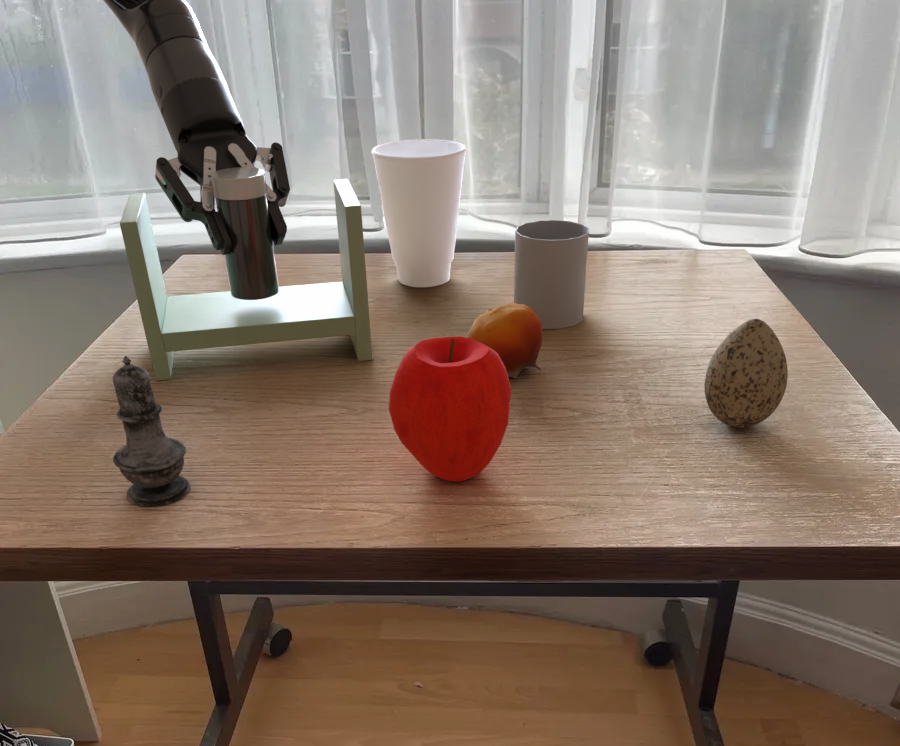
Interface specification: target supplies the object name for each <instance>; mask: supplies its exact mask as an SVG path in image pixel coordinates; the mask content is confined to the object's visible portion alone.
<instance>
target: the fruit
mask: <svg viewBox="0 0 900 746" xmlns="http://www.w3.org/2000/svg"><path fill="white" fill-rule="evenodd" d="M466 338H471V339H474V340H476V341H478V342H480V343H482V344H484V345H486V346H488V347H489V348H491V349H493V350H494V351H495V352H497V353H498V355H499V356H500V358H501V360H502V362H503V364H504V365H505V367H506V370H507V374H508V378H513V379H515V380H517V378H518V375H519V374H520V373H521V372H522V371H523V370H524V369H527V368H536V369H538V370H539V371H542V368H540V367H539V366H538V365H537V361H538V358H539V355H540V351H541V348H542V344H543V329H542V324H541V321H540V319H539V317H538V316H537V315H536V313H535V312H534V311H533V310H532V309H531V308H530V307H528V306H526V305H524V304H516V303H514V302H510V303H506V304H502V305H499V306H498V307H495V308H489V309H488V310H487V311H486V312H482V313H481V314H479V315H478V316H477V317H476V318H475V320H474V322H473V323H472V325H471V327H470V330H469V331H468V333H467V337H466Z"/></svg>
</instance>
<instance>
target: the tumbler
mask: <svg viewBox="0 0 900 746" xmlns="http://www.w3.org/2000/svg"><path fill="white" fill-rule="evenodd" d="M211 182H212V188H213V194H214V197H215V207H216V212H217V211H219V213H220V215H221V218H222V220H223V222H224V225H225V227H226V230H227V232H228V235H229V237H230V240H231V243H232V247H231V251H230V254H226V255H224V260H225V266H226V273H227V279H228V285H229V291H231V295H232V296H233V297H234V298H237V299H241V300H259V299H265V298H269V297H272V296H274V295H276V294H277V293H278V292H279V287H280V285H279V284H280V283H279V278H278V272H277V271H278V270H277V262H276V254H275V247H274V246H275V245H274V243H273V239H272V231H271V223H270V216H269V208H268V201H267V185H268V184H267V179H266V171H265V169H262V168H258V167H256V168H251V167H237V168H227V169H222V170H218V171H215V172H213V173H212V174H211ZM266 184H267V185H266Z"/></svg>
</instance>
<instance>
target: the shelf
mask: <svg viewBox="0 0 900 746" xmlns="http://www.w3.org/2000/svg"><path fill="white" fill-rule="evenodd" d="M332 182H333V191H334V192H333V193H334V202H335V203H334V204H335V213H336V214H335V215H336V224H337V225H336V226H337V236H338V246H339V247H338V248H339V259H340V267H341V268H340V269H341V279H342V280H341V281H333V282H320V283H319V282H318V283H310V284H296V285H284V286H279V292H278V293H277V294H276V295H274V296H272V297H269V298H265V299H259V300H241V299H237V298H234V297H233V296H232V295H231V291H230V290H226V291H216V292H215V291H214V292H201V293H191V294H190V293H189V294H178V295H167V291H166V286H165V285H166V284H165V281H164V276H163V271H162V266H161V262H160V257H159V253H158V248H157V243H156V238H155V233H154V229H153V225H152V219H151V214H150V209H149V204H148V200H147V196H146V192H135V193H134V192H132V193H129V195H128V198H127V200H126V204H125V206H124V209H123V212H122V215H121V218H120V222H119V227H120V232H121V235H122V240H123V244H124V248H125V253H126V257H127V262H128V266H129V270H130V274H131V278H132V283H133V288H134V291H135V296H136V300H137V304H138V309H139V313H140V317H141V322H142V326H143V327H142V328H143V331H144V334H145V339H146V344H147V347H148V353H149V357H150V360H151V365H152V370H153V374H154V378H155V381H156V382H158V381H167V380H168V381H169V380H172V377H173V376H172V375H173V366H174V358H175V352H182V351H191V350H203V349H214V348H225V347H235V346H247V345H256V344H267V343H278V342H288V341H300V340H311V339H320V338H333V337H342V336H343V337H344V336H350V339H351V342H352V345H353V348H354V349H353V350H354V352H355V354H356V359H357V361H358V362H363V361H365V362H366V361H373V360H374V358H373V346H372V332H371V317H370V305H369V294H368V291H369V290H368V279H367V278H368V277H367V267H366V254H365V253H366V252H365V240H364V239H365V238H364V227H363V214H362V213H363V212H362V205H361V203H360V201H359V199H358V197H357V195H356V192H355V191H354V189H353V186H352V185H351V183H350V181H349V179H348V178H340V179H333V181H332Z"/></svg>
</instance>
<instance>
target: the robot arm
mask: <svg viewBox="0 0 900 746" xmlns="http://www.w3.org/2000/svg"><path fill="white" fill-rule="evenodd" d="M102 1H103V2H104V4H105V5H106V6H107V7H108V8H109V10H111V12H112V13H113V14H114V15H115V17H116V18H117V20H118V21H119V23H120V24H121V25H122V27H123V28H124V29H125V31H126V32H127V33H128V35H129V36H130V38H131V39H132V41H133V42H134V44H135V46H136V48H137V51H138V54H139V57H140V59H141V61H142V64H143V67H144V69H145V71H146V74H147V77H148V80H149V84H150V85H149V86H150V88H151V92H152V94H153V97H154V100H155V103H156V104H157V107H158V109H159V113H160V115H161V117H162V120H163V122H164V124H165V127H166V129H167V131H168V134H169V137H170V139H171V140H172V144H173V147H174V149H175V151H176V153H177V156H176V157H174V158H171V159H167V158H166V157H164V156H163V157H162V156H161V157H157V159H156V162H155V175H154V179H155V180H156V182H157V183H158V185H159V187H160V188H161V189H162V192H164V194H165V196H166V197H167V198H168V200H169V202H170V204H172V206H173V208H174V209H175V211H176V212H177V214H178V215H179V217H180V218H181V220H183V221H184V222H185V223H191V222H192V221H199V222H201V223H202V224H203V225H204V228H205V230H206V233H207V236H208V238H209V240H210V242H211V245H212V247H213V248H214V249H215V250H216V251H220V253H221V255H222V256H225V255H226V254H230V251H231V247H232V243H231V240H230V237H229V235H228V232H227V230H226V227H225V225H224V222H223V220H222V218H221V215H220V213H219V211H217V210H216V208H215V207H216V200H215V197H214V194H213V188H212V182H211V174H212V173H213V172H215V171H218V170H222V169H227V168H237V167H251V168H257V167H256V166H255V163H256V161H257V162H259V163H261V165H262V168H263V170H264V172H265V173H268V172H269V179H270V183H271V187H270V186H269V185H268V183H266V185H267V201H268V208H269V216H270V223H271V231H272V239H273V246H280V245H281V246H282V245H283V242H284V240H285V238H286V235H287V231H288V225H287V223H286V220H285V218H284V216H283V214H282V211H281V208H283V207H285V206H286V204H287V201H288V197H289V194H290V191H291V187H290V182H289V181H290V180H289V176H288V171H287V165H286V161H285V154H284V149H283V146H282V145H281V144H280V143H279V142H276V141H275V142H273V143H271V145H270V147H262V146H261V147H259V146H257V145H256V144H255V143H254V142H253V141H252V140H251V139H250V138H249V136H248V135H247V133H246V129H245V127H244V123H243V120H242V118H241V117H240V113H239V112H238V109H237V106H236V104H235V101H234V99H233V96H232V94H231V92H230V89H229V85H228V82H227V80H226V79H225V77H224V75H223V73H222V70H221V68H220V66H219V64H218V62H217V60H216V59H215V57H214V55H213V54H212V52H211V50H210V47H209V45H208V43H207V40H206V38H205V36H204V33H203V30H202V29H201V26H200V22H199V21H198V19H197V17H196V14H195V13H194V11H193V8H192V7H191V6H190V5H189V3H188V2H187V1H186V0H102ZM181 172H182V173H183V174H184V175H186V176H187V177H188V178H190V179H191V180H192V181H193V182H195V183H196V184H197V185H199V201H197V200H195V199H194V198H193V195H192V194H191V193H190V192H189V190H188V189H187V187H186V185H185V184H184V182H183V181H182V180H181V175H182V173H181Z"/></svg>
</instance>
